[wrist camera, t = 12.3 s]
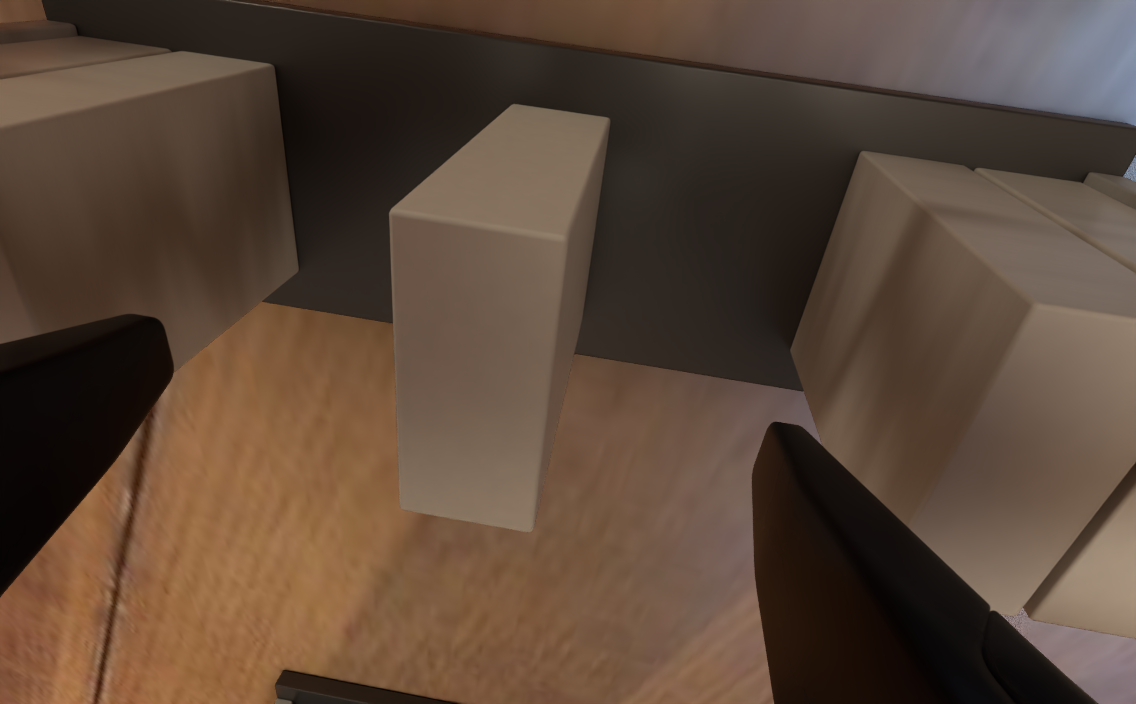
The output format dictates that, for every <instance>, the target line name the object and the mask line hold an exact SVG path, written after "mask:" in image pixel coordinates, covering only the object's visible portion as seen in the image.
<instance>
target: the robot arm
mask: <svg viewBox="0 0 1136 704" xmlns="http://www.w3.org/2000/svg"><path fill="white" fill-rule="evenodd" d="M173 373H174V362H173V358H172V354H171V350H170V346H169V342H168V338H167V334H166V331H165V327H164V325H163V324H162V322H161V321H160V320H159V319H157V318H155V317H150V316H144V315H138V314H123V315H119V316H115V317H111V318H107V319H103V320H98V321H94V322H90V323H86V324H82V325H77V326H73V327H69V328H65V329H61V330H56V331H52V332H48V333H44V334H40V335H35V336H31V337H27V338H23V339H19V340H15V341H10V342H6V343H2V344H0V597H1V596H2V595H3V593H4V592H5V591H6V590H7V589H8V587H9V586H10V585H11V584H12V583H13V582H14V580H15V579H16V578H17V577H18V576H19V574H20V573H21V572H22V571H23V570H24V569H25V567H26V566H27V565H28V564H29V563H30V562H31V560H32V559H33V558H34V557H35V556H36V554H37V553H38V552H39V551H40V550H41V549H42V547H43V546H44V545H45V544H46V543H47V541H48V540H49V539H50V538H51V537H52V536H53V534H54V533H55V532H56V531H57V530H58V529H59V527H60V526H61V525H62V524H63V523H64V521H65V520H66V519H67V518H68V517H69V516H70V514H71V513H72V512H73V511H74V510H75V508H76V507H77V506H78V505H79V504H80V503H81V501H82V500H83V499H84V498H85V497H86V496H87V494H88V493H89V492H90V491H91V490H92V488H93V487H94V486H95V485H96V484H97V483H98V481H99V480H100V479H101V478H102V477H103V475H104V474H105V473H106V472H107V471H108V469H109V468H110V467H111V466H112V464H113V463H114V462H115V461H116V459H117V458H118V456H119V455H120V454H121V452H122V451H123V450H124V448H125V447H126V445H127V444H128V442H129V441H130V439H131V438H132V437H133V435H134V434H135V432H136V431H137V429H138V428H139V426H140V425H141V423H142V422H143V421H144V419H145V418H146V416H147V415H148V413H149V412H150V410H151V409H152V407H153V406H154V405H155V403H156V402H157V400H158V399H159V397H160V396H161V394H162V393H163V391H164V390H165V389H166V387H167V386H168V384H169V383H170V381H171V379H172V377H173ZM752 504H753V538H754V567H755V580H756V588H757V595H758V602H759V608H760V615H761V621H762V628H763V634H764V641H765V647H766V654H767V660H768V667H769V673H770V680H771V686H772V693H773V699H774V704H1098V703H1097V702H1096V701H1095V700H1094V699H1092V698H1091V697H1090V696H1089V695H1088V694H1087V693H1085V692H1084V691H1083V690H1082V689H1081V688H1080V687H1078V686H1077V685H1076V684H1075V683H1074V682H1073V681H1072V680H1070V679H1069V678H1068V677H1067V676H1066V675H1065V674H1064V673H1063V672H1061V671H1060V670H1059V669H1058V668H1057V667H1056V666H1055V665H1054V664H1053V663H1052V662H1051V661H1049V660H1048V659H1047V658H1046V657H1045V656H1044V655H1043V654H1042V653H1041V652H1040V651H1039V650H1038V649H1036V648H1035V647H1034V646H1033V645H1032V644H1031V643H1030V642H1029V641H1028V640H1027V639H1026V638H1024V637H1023V636H1022V635H1021V634H1020V633H1019V632H1018V631H1017V630H1016V629H1015V628H1014V627H1013V626H1012V625H1011V624H1010V623H1009V622H1008V621H1007V620H1005V619H1004V618H1003V617H1002V616H1001V615H1000V614H999V613H998V612H997V611H995V610H992V611H990V609H991V607H990V605H989V604H988V603H987V602H986V601H985V600H984V599H983V598H982V597H981V596H980V595H979V594H978V593H977V592H976V591H975V590H974V589H973V588H971V587H970V586H969V585H968V584H967V583H966V582H965V581H964V580H963V579H962V578H961V577H960V576H959V575H958V574H957V573H956V572H955V571H954V570H953V569H951V568H950V567H949V566H948V565H947V564H946V563H945V562H944V561H943V560H942V559H941V558H940V557H939V556H938V555H937V554H936V553H935V552H934V551H933V550H931V549H930V548H929V547H928V546H927V545H926V544H925V543H924V542H923V541H922V540H921V539H920V538H919V537H918V536H917V535H916V534H915V533H914V532H912V531H911V530H910V529H909V528H908V527H907V526H906V525H905V524H904V523H903V522H902V521H901V520H900V519H899V518H898V517H897V516H896V515H895V514H894V513H892V512H891V511H890V510H889V509H888V508H887V507H886V506H885V505H884V504H883V503H882V502H881V501H880V500H879V499H878V498H877V497H876V496H875V495H873V494H872V493H871V492H870V491H869V490H868V489H867V488H866V487H865V486H864V485H863V484H862V483H861V482H860V481H859V480H858V479H857V478H856V477H855V476H853V475H852V474H851V473H850V472H849V471H848V470H847V469H846V468H845V467H844V466H843V465H842V464H841V463H840V462H839V461H838V460H837V459H836V458H835V457H833V456H832V455H831V454H830V453H829V452H828V451H827V450H826V449H825V448H824V447H823V446H822V445H821V444H820V443H819V442H818V441H817V440H816V439H814V438H813V437H812V436H811V435H810V434H809V433H808V432H807V431H806V430H805V429H804V428H803V427H801V426H799V425H793V424H787V423H781V422H773V423H771V424H770V425H769V427H768V428H767V431H766V433H765V436H764V439H763V442H762V444H761V447H760V450H759V453H758V455H757V458H756V461H755V464H754V468H753V473H752Z"/></svg>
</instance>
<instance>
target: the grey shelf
mask: <svg viewBox="0 0 1136 704" xmlns="http://www.w3.org/2000/svg"><path fill="white" fill-rule="evenodd" d="M275 688H276V693H277V697H278V698H277V699H276V701H275V703H274V704H453V703H448V702H442V701H437V700H432V699H427V698H422V697H417V696H412V695H407V694H401V693H396V692H391V691H386V690H381V689H376V688H371V687H366V686H360V685H355V684H350V683H345V682H340V681H335V680H330V679H325V678H319V677H314V676H309V675H304V674H299V673H294V672H289V671H282V673H281V675H280V677H279V679H278V681H277V682H276V684H275Z"/></svg>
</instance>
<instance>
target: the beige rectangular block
mask: <svg viewBox="0 0 1136 704" xmlns="http://www.w3.org/2000/svg"><path fill="white" fill-rule="evenodd" d="M609 129H610V119H609V118H607V117H601V116H594V115H587V114H580V113H573V112H567V111H560V110H553V109H546V108H539V107H532V106H525V105H519V104H513V105H511V106H510V107H509V108H507V109H506V110H505V111H504V112H503V113H502V114H500V115H499V116H498V117H497V118H496V119H495V120H494V121H492V122H491V123H490V124H489V125H488V126H487V127H485V128H484V129H483V130H482V131H481V132H480V133H478V134H477V135H476V136H475V137H474V138H473V139H472V140H470V141H469V142H468V143H467V144H466V145H465V146H463V147H462V148H461V149H460V150H459V151H458V152H456V153H455V154H454V155H453V156H452V157H451V158H450V159H448V160H447V161H446V162H445V163H444V164H443V165H441V166H440V167H439V168H438V169H437V170H436V171H434V172H433V173H432V174H431V175H430V176H429V177H427V178H426V179H425V180H424V181H423V182H422V183H421V184H419V185H418V186H417V187H416V188H415V189H414V190H412V191H411V192H410V193H409V194H408V195H407V196H405V197H404V198H403V199H402V200H401V201H400V202H399V203H397V204H396V205H395V206H394V207H393V208H392V209H391V210H390V212H389V225H390V252H391V279H392V306H393V333H394V361H395V388H396V415H397V442H398V469H399V496H400V508H401V509H402V510H406V511H411V512H417V513H422V514H428V515H433V516H439V517H445V518H450V519H456V520H461V521H467V522H472V523H478V524H483V525H489V526H495V527H500V528H506V529H511V530H517V531H522V532H531V531H532V530H533V529H534V526H535V521H536V517H537V513H538V508H539V504H540V500H541V495H542V491H543V487H544V482H545V478H546V474H547V469H548V465H549V461H550V456H551V452H552V448H553V443H554V439H555V435H556V430H557V426H558V422H559V417H560V413H561V409H562V404H563V400H564V396H565V391H566V387H567V383H568V378H569V374H570V370H571V365H572V361H573V357H574V352H575V348H576V344H577V339H578V335H579V331H580V326H581V322H582V317H583V310H584V303H585V296H586V289H587V282H588V275H589V268H590V261H591V254H592V247H593V240H594V234H595V227H596V220H597V213H598V206H599V199H600V192H601V185H602V178H603V171H604V164H605V157H606V150H607V143H608V136H609Z"/></svg>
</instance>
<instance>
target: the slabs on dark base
mask: <svg viewBox="0 0 1136 704" xmlns="http://www.w3.org/2000/svg"><path fill="white" fill-rule="evenodd" d="M42 3H43V7H44V10H45V14H46V17H47V20H39V21H26V22H12V23H0V344H2V343H6V342H10V341H15V340H19V339H23V338H27V337H31V336H35V335H40V334H44V333H48V332H52V331H56V330H61V329H65V328H69V327H73V326H77V325H82V324H86V323H90V322H94V321H98V320H103V319H107V318H111V317H115V316H119V315H123V314H138V315H144V316H150V317H155V318H157V319H159V320H160V321H161V322H162V324H163V325H164V327H165V331H166V334H167V338H168V342H169V346H170V350H171V354H172V358H173V362H174V372H176V371H177V370H178V369H179V368H181V367H182V366H183V365H184V364H185V363H187V362H188V361H189V360H190V359H192V358H193V357H194V356H195V355H196V354H198V353H199V352H200V351H201V350H203V349H204V348H205V347H206V346H208V345H209V344H210V343H211V342H212V341H214V340H215V339H216V338H217V337H219V336H220V335H221V334H222V333H223V332H225V331H226V330H227V329H228V328H230V327H231V326H232V325H233V324H235V323H236V322H237V321H238V320H239V319H241V318H242V317H243V316H244V315H246V314H247V313H248V312H249V311H250V310H252V309H253V308H254V307H255V306H257V305H258V304H259V303H260V302H267V303H273V304H279V305H285V306H291V307H297V308H303V309H309V310H315V311H321V312H327V313H333V314H339V315H345V316H351V317H357V318H363V319H369V320H375V321H381V322H387V323H393V306H392V279H391V252H390V225H389V212H390V210H391V209H392V208H393V207H394V206H395V205H396V204H397V203H399V202H400V201H401V200H402V199H403V198H404V197H405V196H407V195H408V194H409V193H410V192H411V191H412V190H414V189H415V188H416V187H417V186H418V185H419V184H421V183H422V182H423V181H424V180H425V179H426V178H427V177H429V176H430V175H431V174H432V173H433V172H434V171H436V170H437V169H438V168H439V167H440V166H441V165H443V164H444V163H445V162H446V161H447V160H448V159H450V158H451V157H452V156H453V155H454V154H455V153H456V152H458V151H459V150H460V149H461V148H462V147H463V146H465V145H466V144H467V143H468V142H469V141H470V140H472V139H473V138H474V137H475V136H476V135H477V134H478V133H480V132H481V131H482V130H483V129H484V128H485V127H487V126H488V125H489V124H490V123H491V122H492V121H494V120H495V119H496V118H497V117H498V116H499V115H500V114H502V113H503V112H504V111H505V110H506V109H507V108H509V107H510V106H511V105H513V104H519V105H525V106H532V107H539V108H546V109H553V110H560V111H567V112H573V113H580V114H587V115H594V116H601V117H607V118H609V119H610V129H609V136H608V143H607V150H606V157H605V164H604V171H603V178H602V185H601V192H600V199H599V206H598V213H597V220H596V227H595V234H594V240H593V247H592V254H591V261H590V268H589V275H588V282H587V289H586V296H585V303H584V310H583V317H582V322H581V326H580V331H579V335H578V339H577V344H576V348H575V352H574V354H580V355H586V356H592V357H598V358H604V359H610V360H616V361H622V362H629V363H635V364H641V365H647V366H653V367H659V368H665V369H671V370H677V371H683V372H689V373H695V374H701V375H707V376H713V377H719V378H725V379H731V380H737V381H743V382H749V383H755V384H761V385H767V386H773V387H779V388H785V389H791V390H797V391H803V392H804V393H805V396H806V399H807V402H808V405H809V407H810V410H811V413H812V416H813V419H814V422H815V425H816V428H817V431H818V434H819V437H820V440H821V442H822V445H823V447H824V448H825V449H826V450H827V451H828V452H829V453H830V454H831V455H832V456H833V457H835V458H836V459H837V460H838V461H839V462H840V463H841V464H842V465H843V466H844V467H845V468H846V469H847V470H848V471H849V472H850V473H851V474H852V475H853V476H855V477H856V478H857V479H858V480H859V481H860V482H861V483H862V484H863V485H864V486H865V487H866V488H867V489H868V490H869V491H870V492H871V493H872V494H873V495H875V496H876V497H877V498H878V499H879V500H880V501H881V502H882V503H883V504H884V505H885V506H886V507H887V508H888V509H889V510H890V511H891V512H892V513H894V514H895V515H896V516H897V517H898V518H899V519H900V520H901V521H902V522H903V523H904V524H905V525H906V526H907V527H908V528H909V529H910V530H911V531H912V532H914V533H915V534H916V535H917V536H918V537H919V538H920V539H921V540H922V541H923V542H924V543H925V544H926V545H927V546H928V547H929V548H930V549H931V550H933V551H934V552H935V553H936V554H937V555H938V556H939V557H940V558H941V559H942V560H943V561H944V562H945V563H946V564H947V565H948V566H949V567H950V568H951V569H953V570H954V571H955V572H956V573H957V574H958V575H959V576H960V577H961V578H962V579H963V580H964V581H965V582H966V583H967V584H968V585H969V586H970V587H971V588H973V589H974V590H975V591H976V592H977V593H978V594H979V595H980V596H981V597H982V598H983V599H984V600H985V601H986V602H987V603H988V604H989V605H990V607H991V609H990V611H992V610H995V611H997V612H998V613H999V614H1001V615H1007V616H1016V615H1017V614H1018V613H1019V612H1020V610H1021V609H1022V608H1024V610H1025V612H1026V613H1027V615H1028V617H1029V618H1030V619H1032V620H1034V621H1040V622H1045V623H1051V624H1057V625H1062V626H1068V627H1073V628H1079V629H1084V630H1090V631H1095V632H1101V633H1106V634H1112V635H1118V636H1123V637H1129V638H1134V639H1136V182H1134V181H1132V180H1130V179H1128V178H1125V177H1123V176H1124V174H1125V172H1126V171H1127V169H1128V167H1129V166H1130V164H1131V162H1132V160H1133V159H1134V157H1135V155H1136V126H1134V125H1131V124H1127V123H1121V122H1114V121H1107V120H1100V119H1093V118H1086V117H1079V116H1072V115H1065V114H1058V113H1050V112H1043V111H1036V110H1029V109H1022V108H1015V107H1008V106H1001V105H994V104H987V103H980V102H973V101H966V100H959V99H952V98H945V97H937V96H930V95H923V94H916V93H909V92H902V91H895V90H888V89H881V88H874V87H867V86H860V85H853V84H846V83H839V82H832V81H825V80H817V79H810V78H803V77H796V76H789V75H782V74H775V73H768V72H761V71H754V70H747V69H740V68H733V67H726V66H719V65H712V64H704V63H697V62H690V61H683V60H676V59H669V58H662V57H655V56H648V55H641V54H634V53H627V52H620V51H613V50H606V49H599V48H591V47H584V46H577V45H570V44H563V43H556V42H549V41H542V40H535V39H528V38H521V37H514V36H507V35H500V34H493V33H486V32H478V31H471V30H464V29H457V28H450V27H443V26H436V25H429V24H422V23H415V22H408V21H401V20H394V19H387V18H380V17H373V16H365V15H358V14H351V13H344V12H337V11H330V10H323V9H316V8H309V7H302V6H295V5H288V4H281V3H274V2H267V1H260V0H42Z"/></svg>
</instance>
